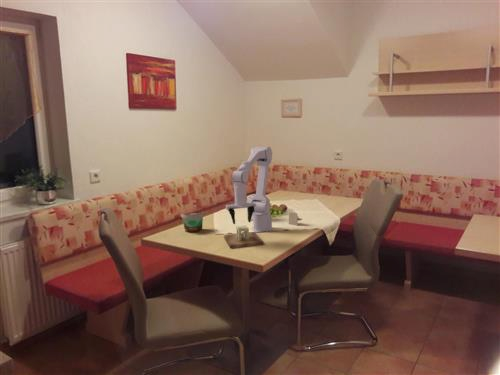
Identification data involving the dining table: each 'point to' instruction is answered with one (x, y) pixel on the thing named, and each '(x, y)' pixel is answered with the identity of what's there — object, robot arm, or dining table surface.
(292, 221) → the architectural model
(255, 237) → the serving board
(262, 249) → the dining table surface
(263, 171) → the robot arm
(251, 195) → the syrup box
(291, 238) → the dining table surface
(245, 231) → the pale slotted block
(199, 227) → the food container
